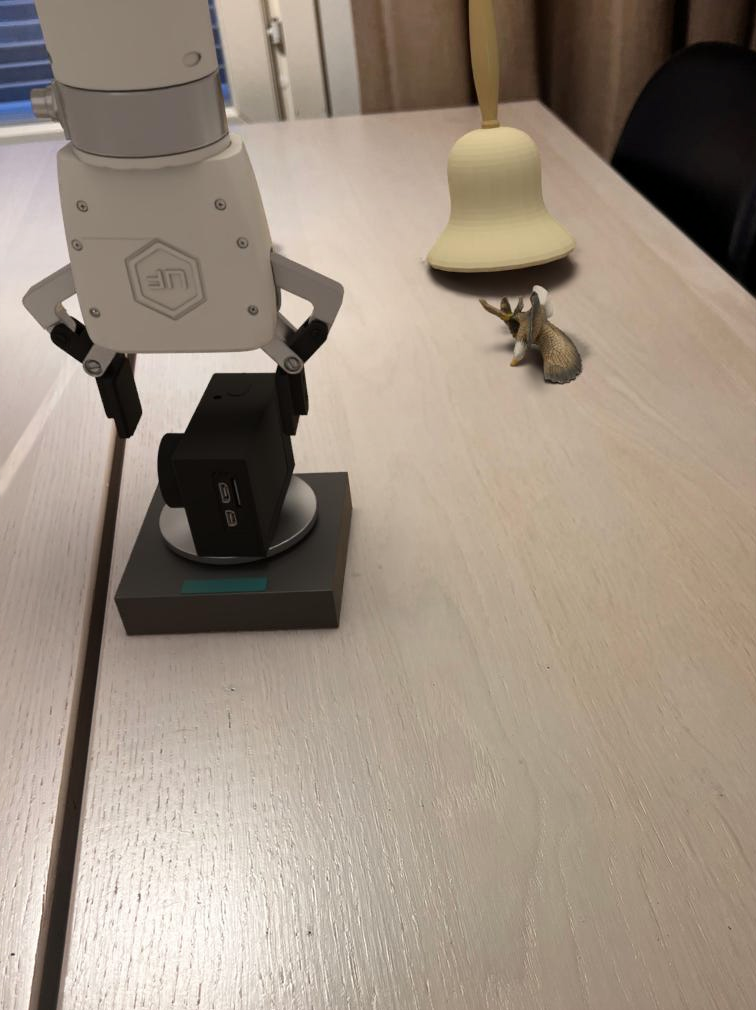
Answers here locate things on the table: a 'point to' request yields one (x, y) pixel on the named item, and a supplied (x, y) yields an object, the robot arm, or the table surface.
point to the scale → (241, 577)
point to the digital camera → (230, 466)
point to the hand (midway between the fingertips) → (212, 425)
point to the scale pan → (288, 531)
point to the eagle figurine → (539, 335)
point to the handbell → (495, 181)
